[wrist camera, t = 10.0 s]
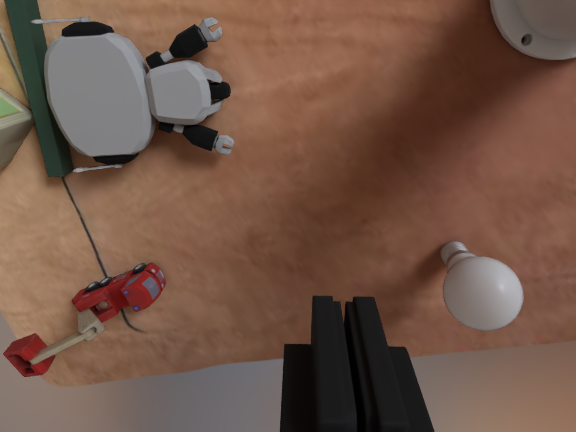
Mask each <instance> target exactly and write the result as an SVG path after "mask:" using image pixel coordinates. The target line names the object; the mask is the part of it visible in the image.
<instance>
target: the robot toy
mask: <svg viewBox="0 0 576 432" xmlns="http://www.w3.org/2000/svg"><path fill="white" fill-rule="evenodd" d="M75 21H81V22H76V23H73V24H71V25H69V26H67V27H65V28H64V29H62V36H60V37H58V38H57V39H55V40H54V41H52V42H50V44H49V46H48V49H47V52H46V54H45V61H44V76H45V84H46V92H47V99H48V103H49V106H50V108H51V110H52V113H53V115H54V117H55V119H56V122H57V124H58V126H59V128H60V130H61V131H62V133H63V135H64V136H65V138H66V140H67V141H68V142H69V144H70V145H71V146H72V147H73V148H75V149H76V150H77V151H78V152H79V153H81V154H84V155H87V156H91V157H93V158H94V160H95V161H96V162H100V163H104V164H107V165H103V166H95V167H87V168H83V167H82V168H76V169H74V170H73V171H74V172H83V171H86V170H94V169H102V168H110V167H115V168H120V167H123V164H125V163H128V162H130V161H131V160H133V159H135V158H136V157H137V156H138V153H139V151H141V150H143V149H144V148H145V147H146V146H147V145H148V144H149V143H150V141H151V139H152V137H153V135H154V131H155V125H156V119H157V120H158V121H160V123H159V127H158V129H160V130H162V131H165V132H168V133H171V132H173V131H177V132H179V133H182V134H183V135H184V136H185V138H186V139H187V140H188V141H189V142H190V143H191V144H192V145H195V146H198V147H201V148H203V149H206V150H209V151H212V148H213V147H214V149H215V150H216V151H217V152H218V153H219V154H223V155H228V154H230V153H231V150H232V149H230V148H227V147H225V146H223V144H227V145H230V146H232V147H233V145H234V141H233V139H232V138H231V137H229V136H228V135H220V136H217V134H218V131H216V130H213V129H210V128H208V127H205V126H202V125H194V124H197V123H199V122H201V121H203V120H204V119H205V118H206V116H208V115H210V114H212V113H215V112H217V111H219V109H220V108H221V106H222V103H223V100H224V99H225V98H228V97H229V96H230V93H231V90H230V86H229V84H228V83H226V82H221V81H222V78H221V76H220V75H219V73H218V71H215V70H212V69H209V68H206V67H204V66H203V65H201V64H200V63H199V62H196V61H192V60H184V61H178V62H173V63H169V64H167V62H168V61H170V60H171V59H173V58H186V57H192V56H193V55H195V54H197V53H198V52H200V51H202V50H203V49H205V48H207V47H208V44H207V42H216V41H217V40H218V39H219V38H220V37H221V36H222V29H221V27H219V28H218V29H217V30H215V31H214V32H211V30H210V29H209V27H211V26H213V25H215V24H218V22H217V20H216V19H215V18H213V17H209V18H206V19H203V21H202V23H201V24H200V26H199V28H198V27H197V26H196V25H195V24H194V25H193V26H191V27H190V28H188V29H186V30H185V31H183V32H181V33H180V34H178V35H177V36H176V38H175V39H174V41H173V43H172V45H171V46H170V48H169V50H167V51H165V52H164V53H162V54H161V53H159V52H157V51H156V52H154V53H153V54H151V55H150V56H148V57H146V59H145V60H146V61H147V63H148V65H149V67H150V68H151V69H150V70H149V71H148V68H147V66H146V64H145V62H144V60H143V57H142V55H141V54H140V52H139V50H138V49H137V48H136V47H135V45H134V44H133V43H132V42H131V41H130V40H129V39H128V38H126V37H123V36H121V35H119V34H116V33H114V31H113V29H112V27H110V26H107V25H105V24H102V23H99V22H90V17H80V18H78V19H54V20H42V19H39V20H33V21H31V22H32V23H36V24H42V23H52V22H75ZM211 80H212V81H215V82H213V83H212V81H211ZM218 99H220V100H218ZM214 100H218V101H215V102H214ZM182 124H186V125H187V126H184V125H182Z"/></svg>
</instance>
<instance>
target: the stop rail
mask: <svg viewBox="0 0 576 432" xmlns="http://www.w3.org/2000/svg"><path fill="white" fill-rule="evenodd" d="M5 4H6V8H7V12H8V16H9V20H10V24H11V28H12V32H13V36H14V40H15V44H16V48H17V52H18V56H19V61H20V65H21V69H22V73H23V77H24V81H25V85H26V89H27V93H28V97H29V101H30V105H31V109H32V113H33V117H34V121H35V125H36V129H37V133H38V137H39V141H40V145H41V149H42V153H43V157H44V161H45V165H46V170H47V174H48V177H64V176H66V175H67V174H69V173H71V172H72V171H73V170H74V168H73V164H72V159H71V155H70V150H69V145H68V141H67V140H66V138H65V136H64V135H63V133H62V131H61V130H60V128H59V126H58V124H57V122H56V119H55V117H54V115H53V113H52V110H51V108H50V106H49V103H48V99H47V92H46V84H45V76H44V61H45V54H46V52H47V45H46V40H45V36H44V31H43V27H42V24H36V23H32V22H31V21H33V20H39V19H41V17H40V13H39V8H38V4H37V0H5Z"/></svg>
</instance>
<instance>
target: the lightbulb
mask: <svg viewBox="0 0 576 432" xmlns="http://www.w3.org/2000/svg"><path fill="white" fill-rule="evenodd" d="M440 256H441V259H442V260H443V262H444V263H445V265H446V267H447V275H446V277H445V279H444V283H443V298H444V302H445V305H446V307H447V309H448V310H449V312H450V313H451V314H452V316H453V317H454V318H455V319H456V320H458V321H459V322H460V323H462V324H463V325H465V326H467V327H469V328H472V329H476V330H481V331H491V330H497V329H500V328H502V327H505V326H506V325H508V324H510V323H511V322H512V321H513V320H514V319H515V318H516V317H517V315H518V314H519V312H520V310H521V308H522V304H523V289H522V286H521V283H520V281H519V279H518V277H517V276H516V274H515V273H514V272H513V271H512V270H511V269H510V268H509V267H508V266H507V265H505V264H504V263H502V262H500V261H498V260H496V259H493V258H489V257H482V256H476V255H474V254H471V253H470V251H469V250H468V249H467V247H466V246H465V245H464V244H463V243H461V242H459V241H452V242H449V243H447V244H446V245H444V246H443V248H442V249H441V252H440Z"/></svg>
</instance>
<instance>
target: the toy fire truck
mask: <svg viewBox="0 0 576 432" xmlns="http://www.w3.org/2000/svg"><path fill="white" fill-rule="evenodd" d="M99 285H100V287H99ZM165 285H166V281H165V278H164V275H163V273H162V272H161V270H160V269H159V268H158V267H157V266H156V265H155V264H154V263H149V264H148V265H147V266H146V265H145V264H144V263H142V264H140V265H138V266H136V267H135V268H134V270H131V271H129V272H126V273H124V274H121V275H119V276H116V277H114V278H113V279H112V278H111V277H107V278H105V279H103V280H102V281H101V282H100V283H98V282H93V283H92V284H90V285H89V286H88V287H87V288H85V289H82V290H80V291H79V292H78V294H77V295H76V296H75V297H74V298H73V299H72V302H73V304H74V305H75V306H76V308H77V309H78V310H79V312H77V322H78V332H76V333H74V334H72V335H70V336H68V337H66V338H64V339H62V340H60V341H58V342H56V343H54V344H52V345H50V346H48V347H47V345H46V344H45V343H44V342H43V341H42V340H41V338H40V337H39V336H38V335H37V334H36V333H35V334H32V335H29V336H27V337H24V338H22V339H19V340H16V341H14V342H12V343H11V345H10V346H9V347H8V348H7V350H6V351H5V352H4V353H3V354H4V356H5V357H6V358H7V359H8V360H9V361H10V362H11V363H12V364H13V366H14V367H15V368H16V369H17V370H18V371H19V372H20V373H21V374H22V375H23V376H24V377H30V376H36V375H43V374H44V373H45V372H47V371H48V369H49V367H50V365H51V363H52V362H53V360H54V358H55V355H54V354H56V353H58V352H60V351H62V350H64V349H66V348H69V347H70V346H72V345H74V344H76V343H78V342H80V341H82V340H85V341H89V340H91V339H93V338H94V337H95V336H97V335H98V334H99V333H101V332H102V331H104V330H105V327H104V326H103V324H102V322H104V321H106V320H108V319H110V318H112V317H113V316H115V315H117V314H118V313H119V311H120V309H121V308H124V307H126V306H129V305H131V306H132V308H133V309H134V311H135V312H137V311H140V310H143V309H145V308H147V307H149V306H150V305H151V304H152V303H153V302H154V301H155V300H156V299H157V298H158V297H159V295H160V294H161V291H162V290H163V289H164V287H165Z"/></svg>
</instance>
